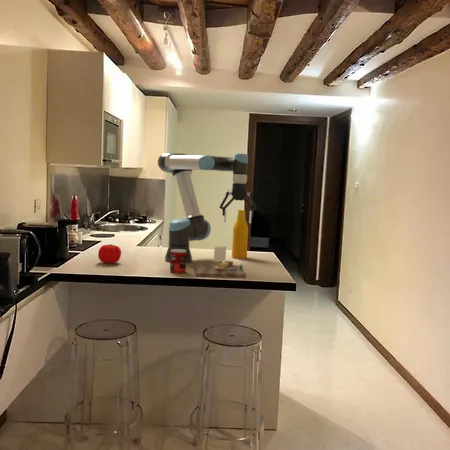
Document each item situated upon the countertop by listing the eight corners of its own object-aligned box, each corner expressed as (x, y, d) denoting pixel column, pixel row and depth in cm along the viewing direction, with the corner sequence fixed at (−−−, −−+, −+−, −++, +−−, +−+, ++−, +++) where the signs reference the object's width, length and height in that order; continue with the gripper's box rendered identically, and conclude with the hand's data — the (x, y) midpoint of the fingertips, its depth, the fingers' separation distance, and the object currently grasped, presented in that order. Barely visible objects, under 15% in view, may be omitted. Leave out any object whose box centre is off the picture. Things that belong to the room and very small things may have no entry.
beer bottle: (235, 259, 279) (237, 210, 276) (229, 256, 288) (231, 209, 285) (249, 258, 283) (251, 210, 280) (243, 256, 291) (245, 209, 288)
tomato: (98, 265, 244) (98, 245, 243) (97, 261, 255) (98, 242, 254) (121, 265, 247) (122, 245, 246) (120, 261, 258) (120, 242, 257)
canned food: (170, 270, 240) (170, 248, 239) (185, 270, 241) (186, 249, 239) (169, 273, 232) (170, 251, 231) (185, 273, 233) (186, 251, 232)
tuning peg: (211, 268, 239) (212, 247, 237) (223, 264, 251) (224, 244, 249) (220, 270, 236) (221, 248, 235) (232, 266, 248) (233, 245, 247)
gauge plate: (195, 276, 228) (195, 268, 228) (195, 266, 252) (196, 259, 251) (244, 277, 229) (245, 269, 229) (240, 267, 253) (240, 260, 253)
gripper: (216, 181, 246) (214, 222, 249) (263, 184, 248) (261, 224, 250) (216, 181, 254) (214, 220, 256) (261, 183, 255) (259, 222, 258)
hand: (237, 222), depth 253 cm, fingers open, 13 cm apart
